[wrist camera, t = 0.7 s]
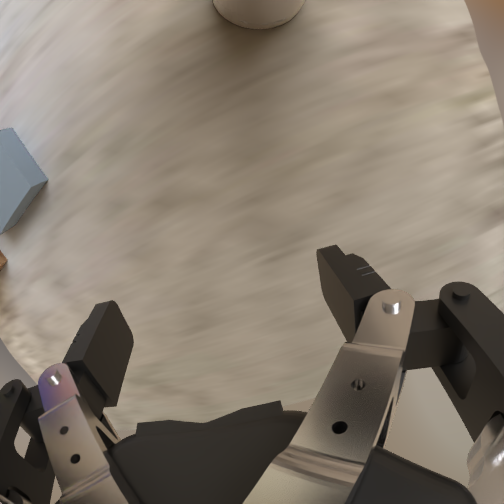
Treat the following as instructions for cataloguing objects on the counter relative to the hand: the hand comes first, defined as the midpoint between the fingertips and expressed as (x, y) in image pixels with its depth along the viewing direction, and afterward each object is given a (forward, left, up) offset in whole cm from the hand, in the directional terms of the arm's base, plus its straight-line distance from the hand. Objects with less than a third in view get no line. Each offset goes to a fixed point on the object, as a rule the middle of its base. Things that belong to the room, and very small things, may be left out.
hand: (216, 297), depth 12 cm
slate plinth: (-5, -28, -22) cm, 36 cm away
